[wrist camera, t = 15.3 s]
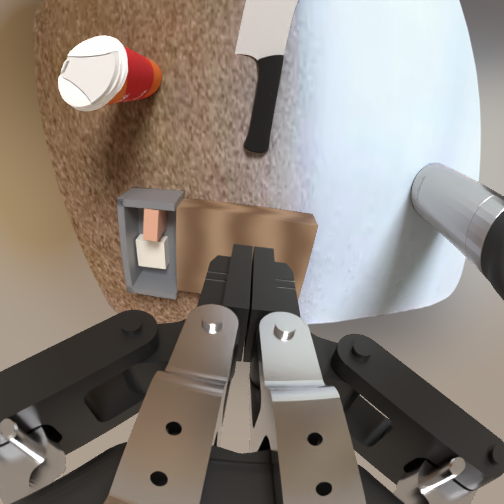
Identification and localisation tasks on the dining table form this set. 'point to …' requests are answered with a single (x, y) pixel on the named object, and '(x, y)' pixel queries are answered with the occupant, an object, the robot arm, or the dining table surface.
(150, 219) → the terracotta tile
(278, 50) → the kitchen cleaver
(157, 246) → the cream block
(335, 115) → the dining table surface
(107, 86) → the paper cup
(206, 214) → the walnut board
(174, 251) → the box
